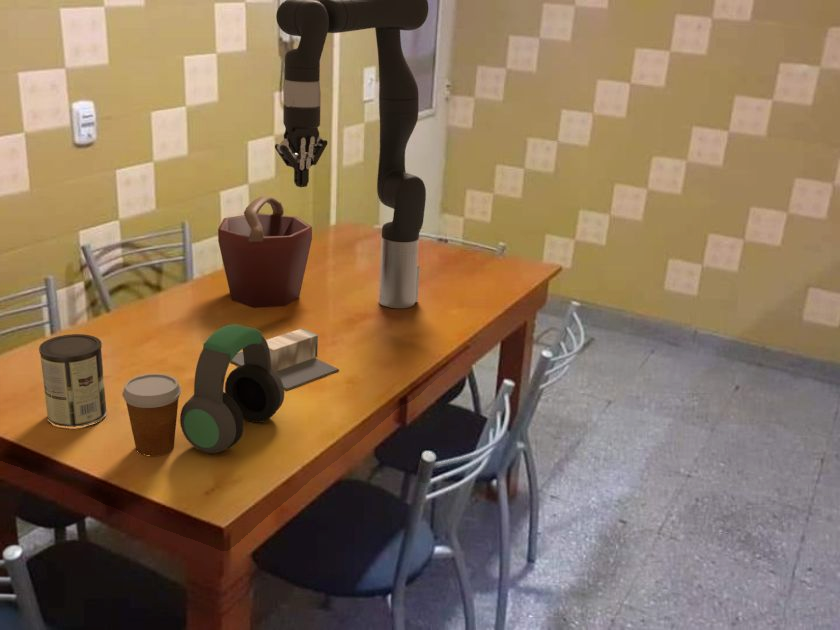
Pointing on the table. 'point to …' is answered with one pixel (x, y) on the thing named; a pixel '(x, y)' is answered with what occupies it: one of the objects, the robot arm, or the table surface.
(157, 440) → the disposable coffee cup
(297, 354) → the cream block
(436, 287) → the table surface
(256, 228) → the bucket
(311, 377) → the mat
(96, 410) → the coffee can
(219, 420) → the headphones
